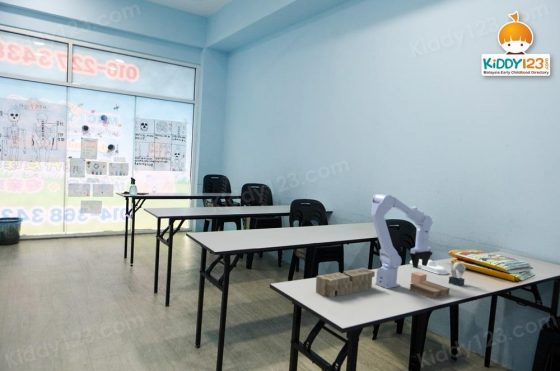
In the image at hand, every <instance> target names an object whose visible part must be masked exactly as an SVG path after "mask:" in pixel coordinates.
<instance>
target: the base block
mask: <svg viewBox="0 0 560 371" xmlns="http://www.w3.org/2000/svg"><path fill="white" fill-rule="evenodd" d="M409 285H410V286H409V291H410V292H414V293H416V294H419V295H421V296H424V297H427V298H430V299H432V300H434V299H438V298H442V297H445V296H449V295H450V288H449V287H447V286H444V285H442V284H438V283H435V282H431V281H429V280H426V281H422V282H418V283H410V284H409Z"/></svg>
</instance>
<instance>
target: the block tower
mask: <svg viewBox="0 0 560 371" xmlns="http://www.w3.org/2000/svg"><path fill="white" fill-rule="evenodd" d="M375 273H376V272H375V271H374V270H372V269H368V268H365V267H359V268H355V269H350V270H349V269H348V270H343V272H342V273H341V272H340V271H339V272H338V271H337V272H334V273H326V274H322V275H316V277H315V278H316V280H315V282H316V283H315V294H317V295H320V296H323V297H328V298H333V297H334V298H335V297H336V296H337V297H338V295H339V296H342V295H347V294H351V293H352V294H353V293H358V292H361V291H366V290H369V289H372V286H373V278H374V277H375Z"/></svg>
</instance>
